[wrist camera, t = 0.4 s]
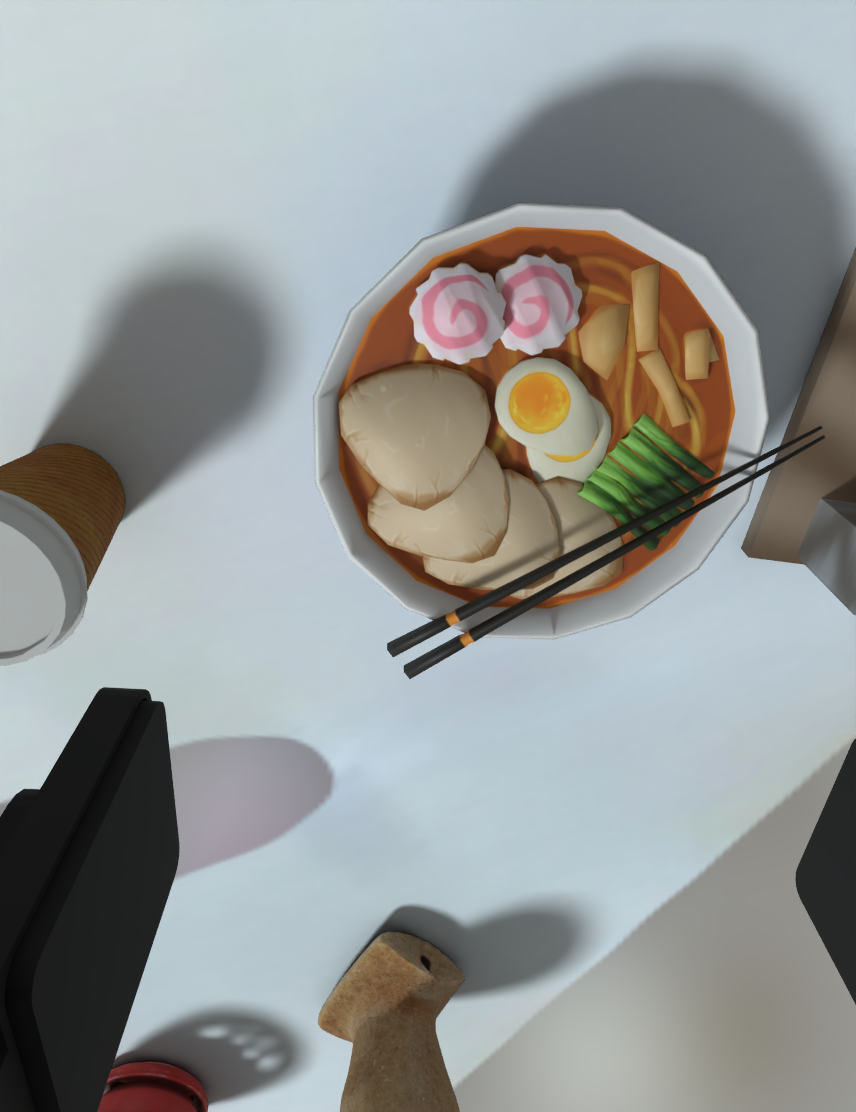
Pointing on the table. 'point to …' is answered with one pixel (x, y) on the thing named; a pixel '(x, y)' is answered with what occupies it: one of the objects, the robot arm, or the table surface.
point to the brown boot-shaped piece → (394, 1026)
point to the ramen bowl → (539, 423)
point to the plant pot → (152, 1089)
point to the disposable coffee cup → (52, 544)
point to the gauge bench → (818, 465)
